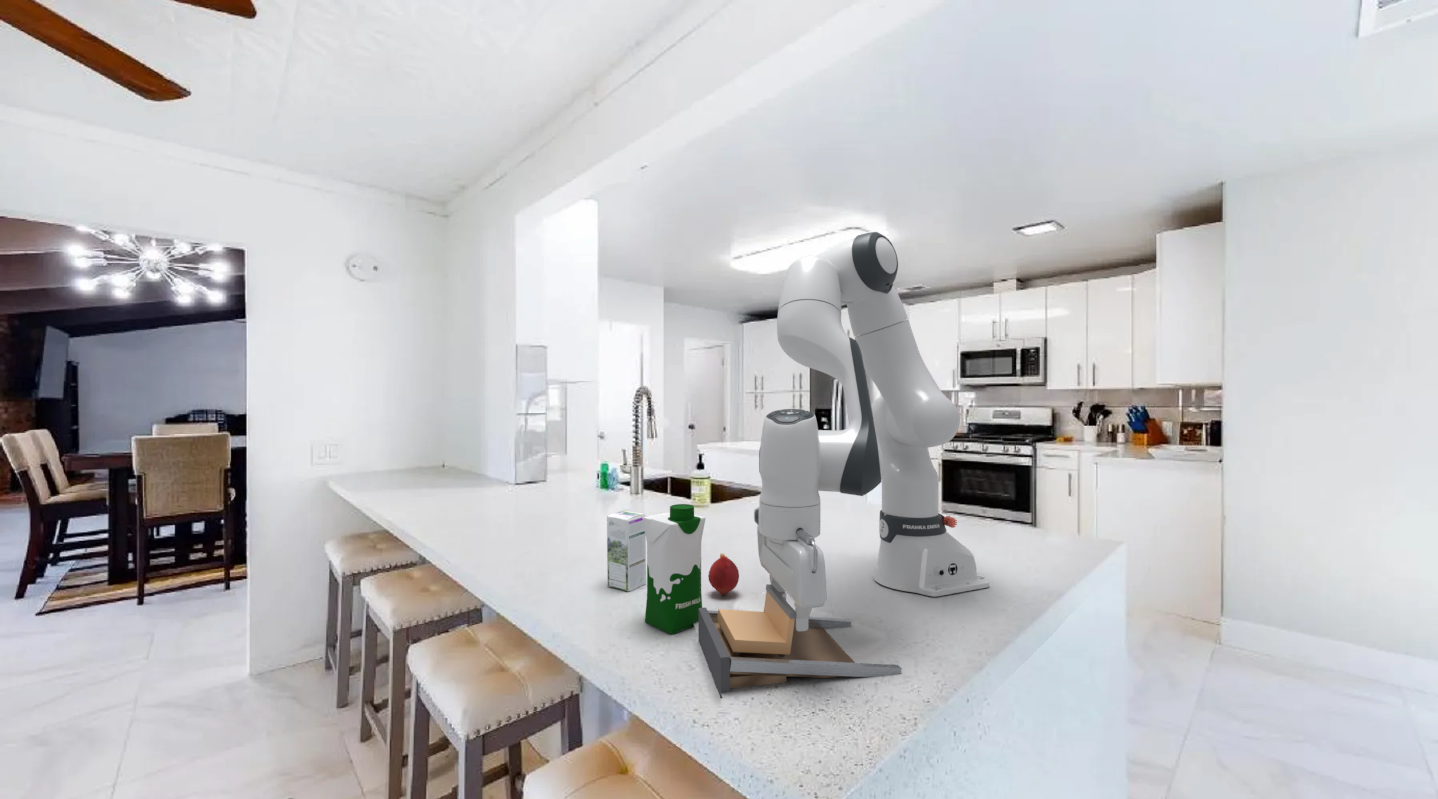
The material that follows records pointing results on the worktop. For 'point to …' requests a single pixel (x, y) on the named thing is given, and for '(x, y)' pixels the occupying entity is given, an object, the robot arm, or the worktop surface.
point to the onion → (723, 575)
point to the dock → (807, 657)
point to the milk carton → (673, 568)
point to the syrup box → (626, 550)
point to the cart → (760, 626)
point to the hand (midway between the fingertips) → (789, 615)
